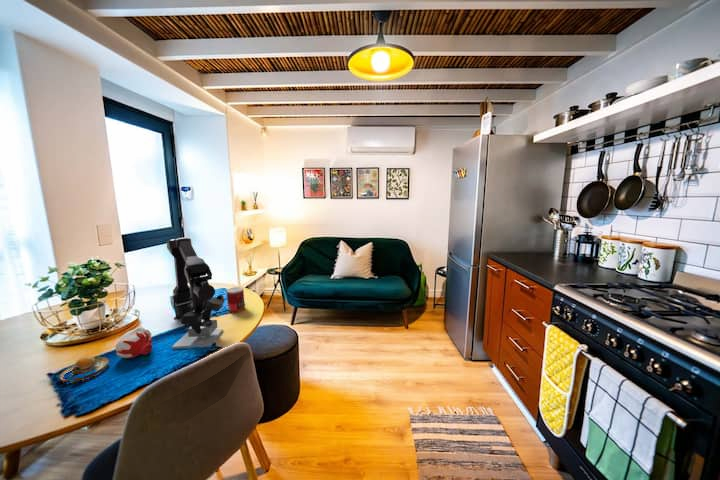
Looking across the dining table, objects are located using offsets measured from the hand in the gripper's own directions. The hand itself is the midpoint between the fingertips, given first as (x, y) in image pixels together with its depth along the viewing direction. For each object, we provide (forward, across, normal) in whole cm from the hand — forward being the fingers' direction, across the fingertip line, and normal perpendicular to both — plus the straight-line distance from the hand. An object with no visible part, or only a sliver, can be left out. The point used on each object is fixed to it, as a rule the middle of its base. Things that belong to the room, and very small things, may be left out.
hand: (203, 328), depth 106 cm
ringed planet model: (+5, -17, +30) cm, 35 cm away
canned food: (+5, +28, -3) cm, 29 cm away
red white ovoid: (+5, -8, +20) cm, 22 cm away
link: (+1, 0, 0) cm, 1 cm away
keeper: (+5, 0, +2) cm, 5 cm away
